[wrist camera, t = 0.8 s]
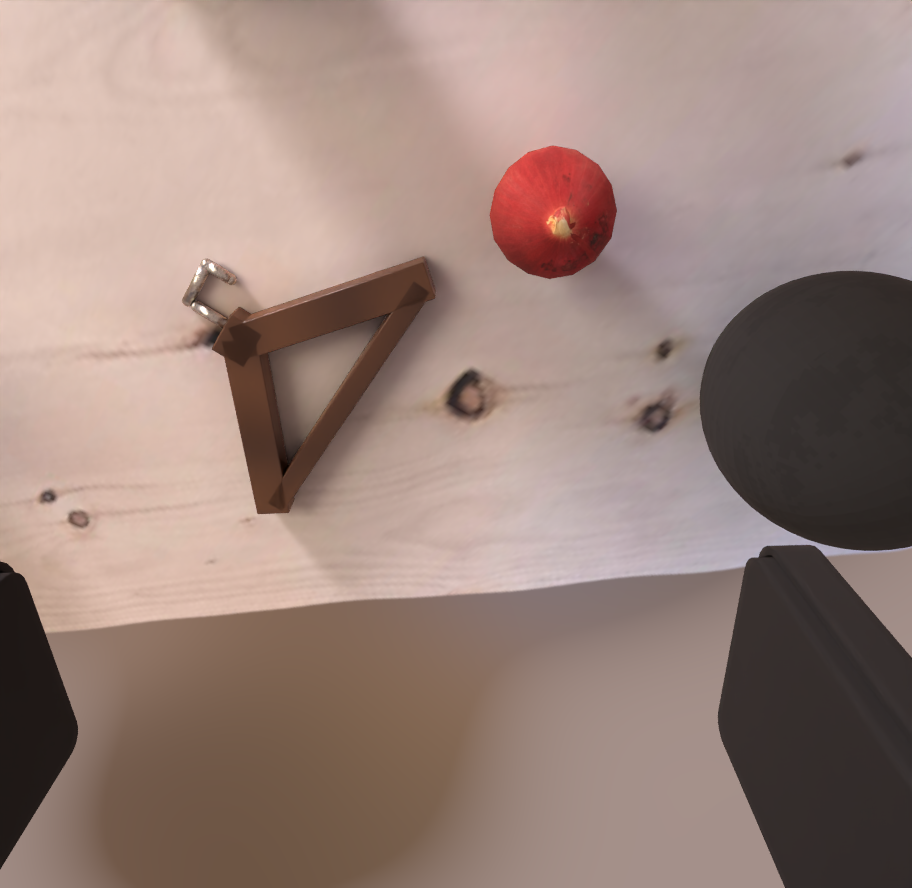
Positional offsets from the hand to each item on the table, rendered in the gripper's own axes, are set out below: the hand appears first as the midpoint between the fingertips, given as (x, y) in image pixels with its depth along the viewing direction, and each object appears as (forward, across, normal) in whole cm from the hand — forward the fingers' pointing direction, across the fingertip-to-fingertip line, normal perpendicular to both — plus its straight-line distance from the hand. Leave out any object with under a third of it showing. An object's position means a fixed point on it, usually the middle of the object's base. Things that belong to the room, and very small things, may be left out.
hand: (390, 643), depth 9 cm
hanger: (+30, +10, +5) cm, 32 cm away
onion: (+30, -5, -2) cm, 31 cm away
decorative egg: (+31, -19, +6) cm, 37 cm away
